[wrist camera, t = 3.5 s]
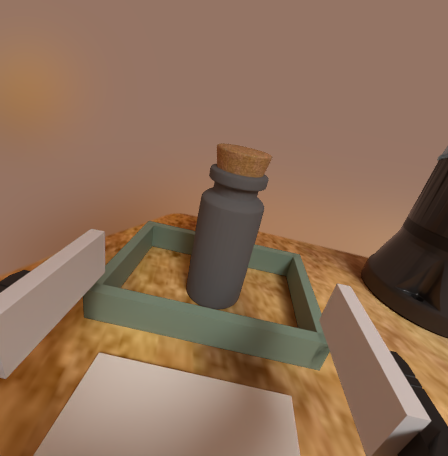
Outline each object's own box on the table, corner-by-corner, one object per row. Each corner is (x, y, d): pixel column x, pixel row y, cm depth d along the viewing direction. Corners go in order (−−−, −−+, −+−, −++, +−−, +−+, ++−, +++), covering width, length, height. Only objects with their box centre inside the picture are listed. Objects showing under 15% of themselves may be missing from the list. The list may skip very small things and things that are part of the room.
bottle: (198, 268, 30) (222, 140, 24) (244, 284, 29) (282, 155, 23) (176, 296, 25) (199, 143, 19) (230, 318, 24) (275, 162, 17)
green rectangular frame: (292, 273, 33) (299, 254, 32) (319, 370, 20) (333, 345, 19) (147, 240, 33) (148, 220, 32) (84, 317, 20) (82, 289, 19)
